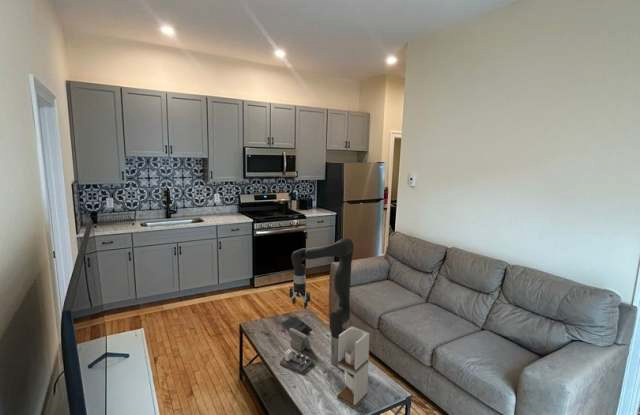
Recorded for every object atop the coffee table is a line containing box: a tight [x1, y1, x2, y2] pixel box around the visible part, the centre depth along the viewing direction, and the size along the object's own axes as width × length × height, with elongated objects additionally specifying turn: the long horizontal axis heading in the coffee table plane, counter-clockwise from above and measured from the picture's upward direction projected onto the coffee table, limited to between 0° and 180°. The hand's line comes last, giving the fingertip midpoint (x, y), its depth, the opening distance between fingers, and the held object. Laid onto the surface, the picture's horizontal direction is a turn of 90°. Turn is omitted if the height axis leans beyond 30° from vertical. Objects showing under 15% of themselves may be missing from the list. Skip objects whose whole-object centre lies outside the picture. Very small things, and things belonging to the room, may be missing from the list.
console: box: [279, 350, 315, 375], centre depth 198 cm, size 16×12×4 cm
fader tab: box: [284, 348, 293, 361], centre depth 198 cm, size 2×4×5 cm, turn 149°
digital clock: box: [289, 328, 312, 353], centre depth 214 cm, size 16×9×11 cm, turn 37°
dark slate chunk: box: [280, 316, 313, 335], centre depth 238 cm, size 15×22×5 cm
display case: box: [336, 325, 370, 409], centre depth 169 cm, size 11×11×35 cm
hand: (299, 305), depth 210 cm, fingers open, 8 cm apart
